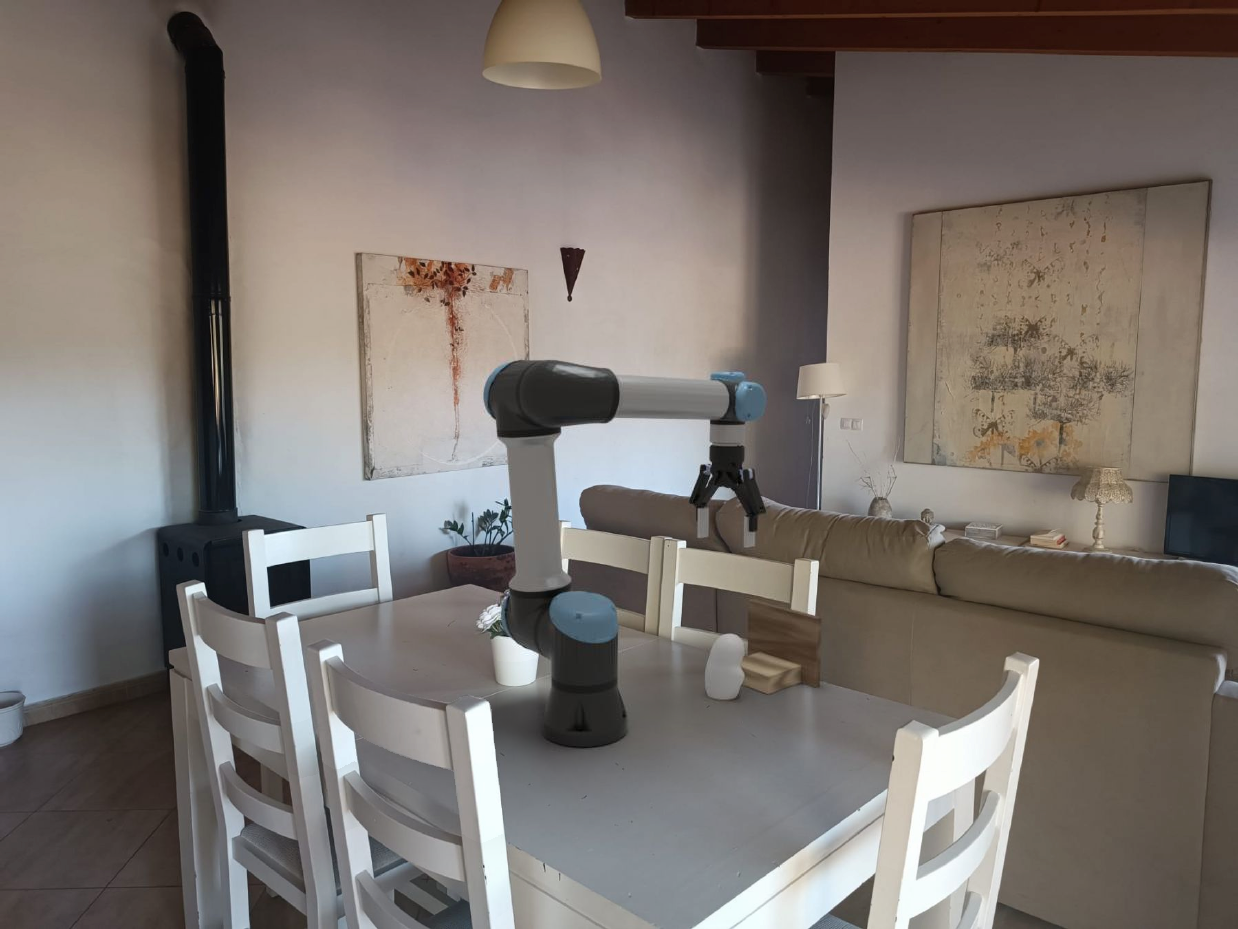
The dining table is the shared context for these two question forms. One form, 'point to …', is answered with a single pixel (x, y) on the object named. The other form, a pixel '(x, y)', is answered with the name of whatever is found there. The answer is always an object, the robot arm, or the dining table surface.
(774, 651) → the wall board
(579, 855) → the dining table surface
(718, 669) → the figurine
